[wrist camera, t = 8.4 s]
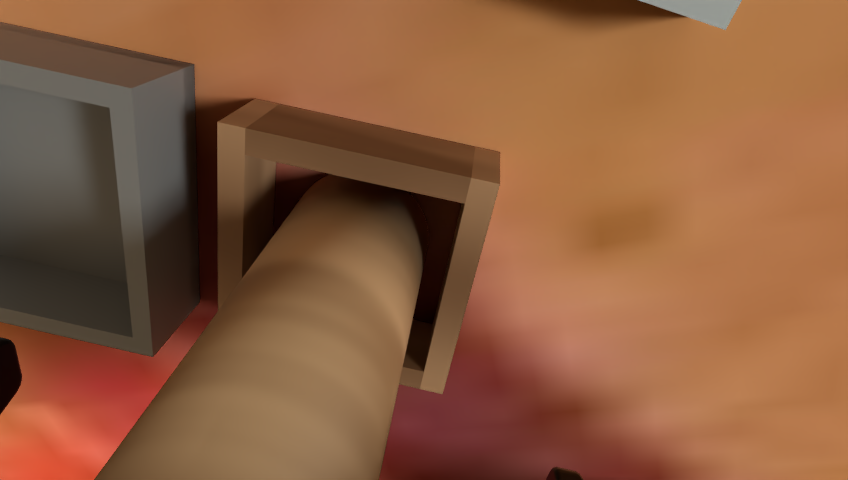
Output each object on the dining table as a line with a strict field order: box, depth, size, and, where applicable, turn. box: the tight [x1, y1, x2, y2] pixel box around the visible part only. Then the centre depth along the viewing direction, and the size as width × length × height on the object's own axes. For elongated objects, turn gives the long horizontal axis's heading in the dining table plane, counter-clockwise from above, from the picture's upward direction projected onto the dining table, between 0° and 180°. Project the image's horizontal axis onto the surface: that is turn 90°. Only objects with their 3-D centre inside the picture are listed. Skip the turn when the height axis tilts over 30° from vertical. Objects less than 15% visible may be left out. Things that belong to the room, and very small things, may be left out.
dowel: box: [94, 174, 429, 480], centre depth 11 cm, size 4×4×9 cm
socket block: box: [217, 99, 500, 394], centre depth 14 cm, size 6×6×2 cm
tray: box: [0, 22, 200, 357], centre depth 14 cm, size 7×7×2 cm
